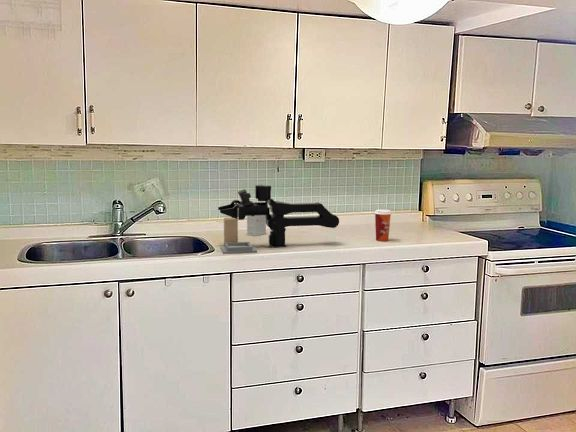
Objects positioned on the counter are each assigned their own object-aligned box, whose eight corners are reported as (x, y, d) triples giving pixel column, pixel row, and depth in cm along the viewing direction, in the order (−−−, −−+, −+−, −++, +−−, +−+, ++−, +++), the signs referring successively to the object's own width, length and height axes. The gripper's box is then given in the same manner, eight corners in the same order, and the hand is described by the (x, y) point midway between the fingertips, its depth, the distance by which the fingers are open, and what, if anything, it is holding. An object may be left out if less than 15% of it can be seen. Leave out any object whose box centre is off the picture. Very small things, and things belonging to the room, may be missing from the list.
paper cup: (384, 242, 257) (385, 212, 255) (370, 240, 262) (371, 210, 260) (393, 240, 262) (394, 210, 260) (379, 238, 268) (380, 208, 265)
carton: (236, 243, 253) (236, 217, 251) (237, 246, 248) (237, 219, 246) (224, 244, 252) (223, 217, 250) (225, 246, 247) (224, 219, 245)
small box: (257, 232, 280) (257, 211, 278) (266, 234, 276) (266, 212, 275) (246, 235, 274) (246, 213, 272) (255, 236, 270) (255, 214, 269)
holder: (252, 246, 247) (252, 241, 246) (256, 252, 235) (256, 247, 235) (220, 247, 244) (220, 242, 244) (223, 253, 232) (223, 248, 232)
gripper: (252, 188, 252) (216, 188, 249) (258, 192, 234) (220, 193, 231) (252, 212, 254) (217, 213, 251) (258, 219, 236) (221, 220, 233)
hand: (219, 209), depth 241 cm, fingers open, 9 cm apart
